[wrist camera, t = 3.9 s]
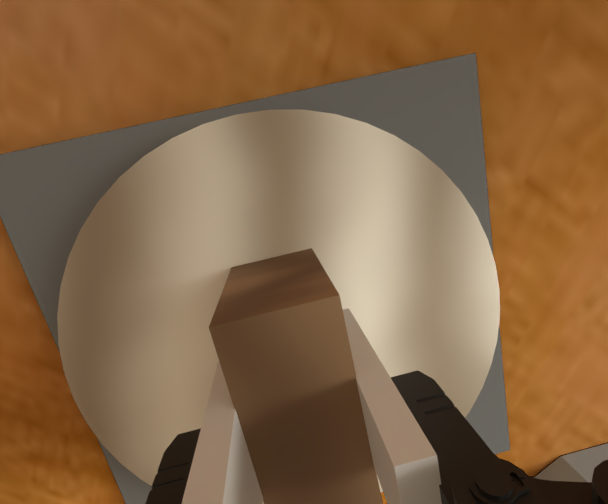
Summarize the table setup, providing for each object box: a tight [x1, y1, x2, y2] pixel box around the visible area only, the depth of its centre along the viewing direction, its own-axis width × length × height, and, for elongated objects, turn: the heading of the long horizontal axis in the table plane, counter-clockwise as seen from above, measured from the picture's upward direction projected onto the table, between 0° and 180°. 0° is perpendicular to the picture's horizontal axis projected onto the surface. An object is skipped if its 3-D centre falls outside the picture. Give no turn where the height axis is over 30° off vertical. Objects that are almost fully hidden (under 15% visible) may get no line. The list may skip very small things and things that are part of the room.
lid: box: [57, 109, 500, 504], centre depth 11 cm, size 17×17×6 cm
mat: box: [0, 53, 510, 504], centre depth 15 cm, size 18×18×1 cm
